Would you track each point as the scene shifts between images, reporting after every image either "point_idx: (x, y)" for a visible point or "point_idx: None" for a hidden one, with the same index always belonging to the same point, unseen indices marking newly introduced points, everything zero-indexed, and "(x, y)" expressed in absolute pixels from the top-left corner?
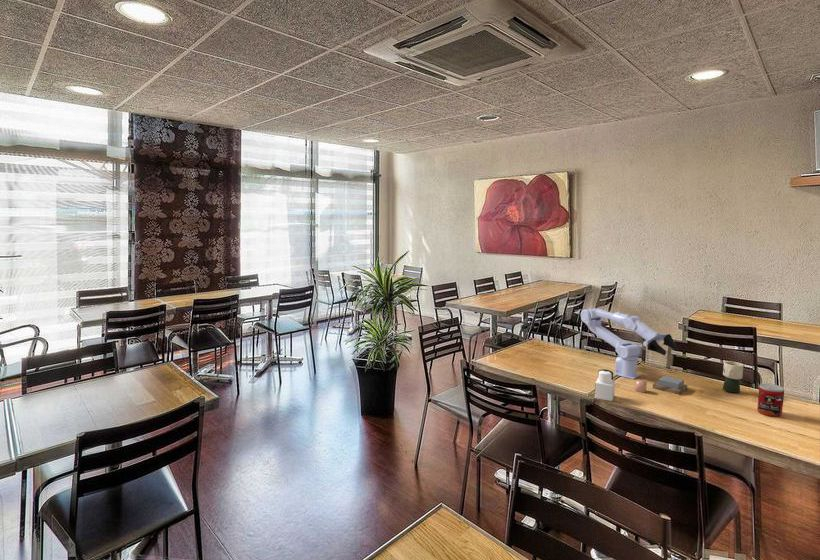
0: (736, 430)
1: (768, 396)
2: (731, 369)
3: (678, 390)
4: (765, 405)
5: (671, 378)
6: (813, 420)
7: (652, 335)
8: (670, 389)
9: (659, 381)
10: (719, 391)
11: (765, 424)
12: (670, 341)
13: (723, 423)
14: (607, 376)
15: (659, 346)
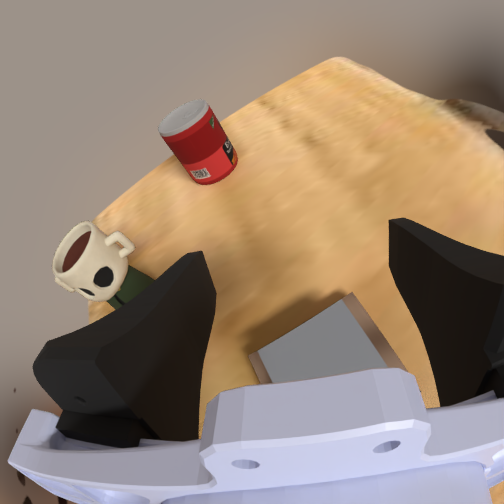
0: (373, 100)
1: (215, 116)
2: (106, 237)
3: (352, 298)
4: (227, 137)
5: None
6: None
7: (467, 495)
8: (374, 324)
9: None
10: None
11: (285, 123)
12: (166, 320)
13: (377, 120)
14: None
15: (447, 246)
